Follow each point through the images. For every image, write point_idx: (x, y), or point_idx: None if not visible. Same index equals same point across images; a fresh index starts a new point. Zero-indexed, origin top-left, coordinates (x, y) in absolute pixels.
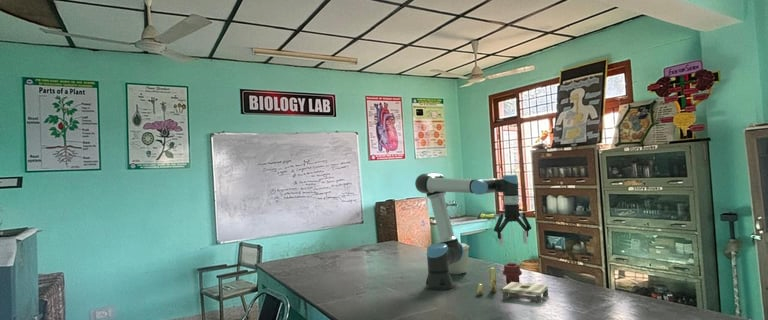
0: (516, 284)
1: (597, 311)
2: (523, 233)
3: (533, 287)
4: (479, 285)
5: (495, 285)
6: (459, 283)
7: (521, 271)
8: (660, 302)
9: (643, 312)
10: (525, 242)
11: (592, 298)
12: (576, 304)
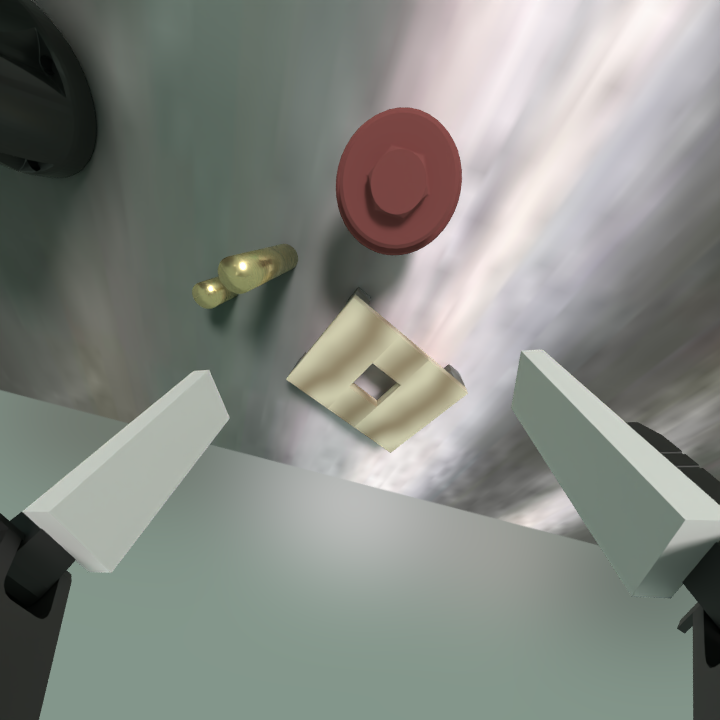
0: (356, 345)
1: (486, 506)
2: (613, 471)
3: (401, 401)
4: (203, 307)
5: (284, 272)
6: (118, 25)
7: (448, 220)
8: None
9: (575, 534)
10: (517, 409)
11: None
12: (479, 460)
